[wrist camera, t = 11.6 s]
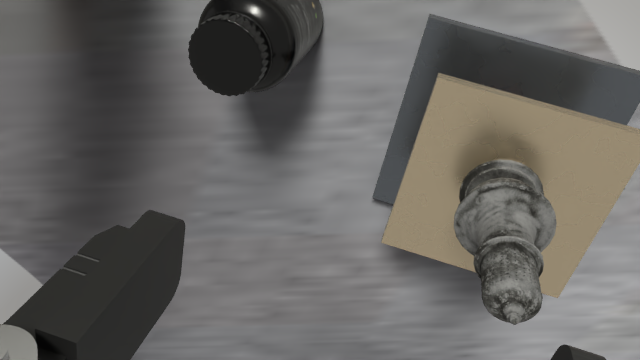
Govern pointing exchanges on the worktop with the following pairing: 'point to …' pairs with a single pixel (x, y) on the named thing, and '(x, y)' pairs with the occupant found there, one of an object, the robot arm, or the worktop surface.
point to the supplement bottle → (252, 42)
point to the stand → (507, 139)
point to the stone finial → (506, 235)
